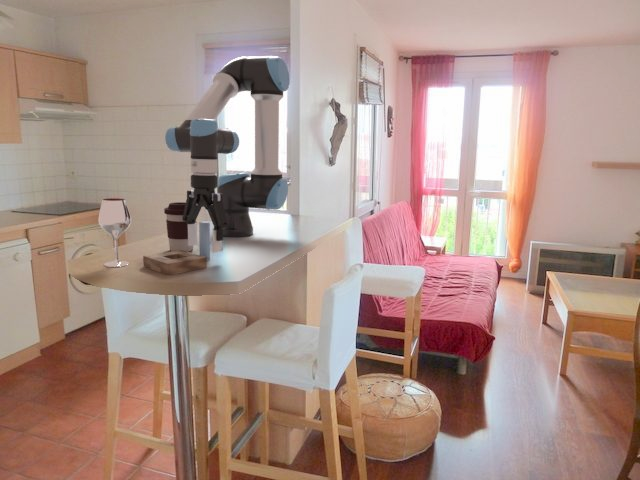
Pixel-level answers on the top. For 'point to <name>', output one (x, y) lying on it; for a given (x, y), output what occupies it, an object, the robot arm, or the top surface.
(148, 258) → the hole block
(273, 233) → the top surface
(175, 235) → the coffee cup
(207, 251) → the peg
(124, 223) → the wineglass
